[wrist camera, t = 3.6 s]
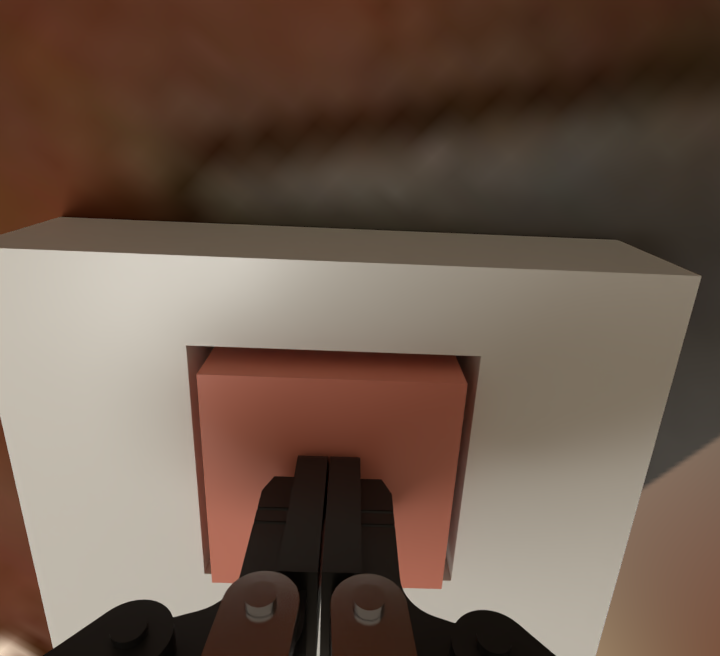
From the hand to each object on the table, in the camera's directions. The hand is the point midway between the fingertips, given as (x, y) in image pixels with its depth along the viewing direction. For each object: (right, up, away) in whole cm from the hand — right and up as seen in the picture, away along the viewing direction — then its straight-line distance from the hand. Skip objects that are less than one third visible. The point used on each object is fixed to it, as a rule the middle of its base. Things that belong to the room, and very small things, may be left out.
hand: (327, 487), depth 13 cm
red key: (0, +1, +4) cm, 4 cm away
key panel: (0, -4, +6) cm, 7 cm away
